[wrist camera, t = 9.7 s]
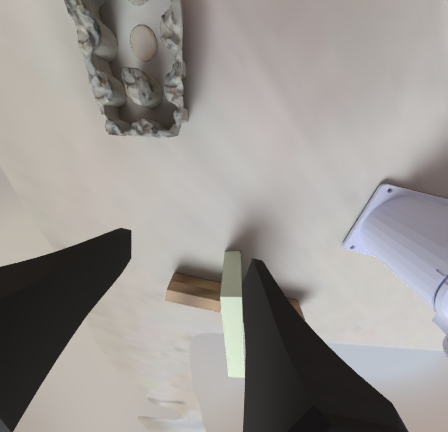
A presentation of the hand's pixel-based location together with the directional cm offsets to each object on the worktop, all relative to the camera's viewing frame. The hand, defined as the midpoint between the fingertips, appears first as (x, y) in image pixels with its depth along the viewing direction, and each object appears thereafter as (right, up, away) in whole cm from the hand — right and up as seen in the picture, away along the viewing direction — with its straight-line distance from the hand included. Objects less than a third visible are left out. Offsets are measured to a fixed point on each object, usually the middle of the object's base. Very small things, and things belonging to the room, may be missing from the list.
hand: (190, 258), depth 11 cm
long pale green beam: (+4, -8, +15) cm, 18 cm away
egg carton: (-4, +15, +5) cm, 17 cm away
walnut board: (+4, -8, +15) cm, 18 cm away
